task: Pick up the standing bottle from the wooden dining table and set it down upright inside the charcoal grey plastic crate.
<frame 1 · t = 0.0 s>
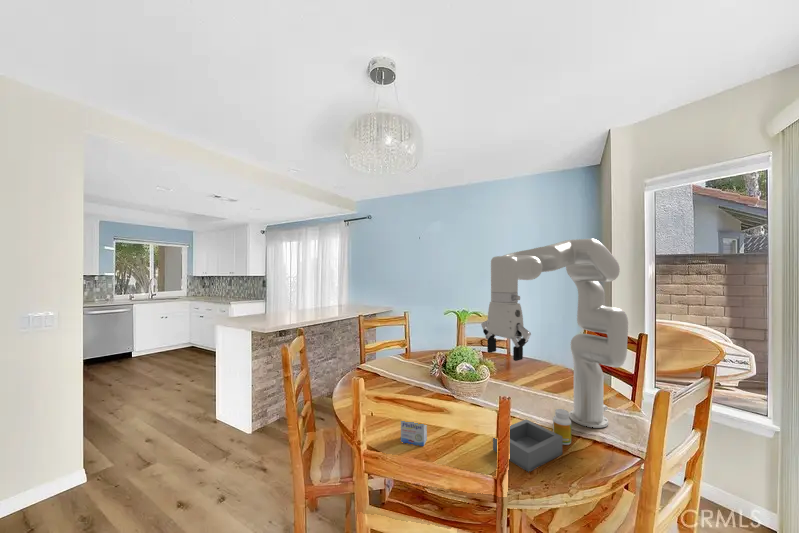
hand: (504, 355, 98), 31 cm above the table, tool pointing down, fingers open, 9 cm apart
medicine box: (414, 442, 109), on the table
crate: (527, 452, 102), on the table
supplement bottle: (562, 441, 109), on the table
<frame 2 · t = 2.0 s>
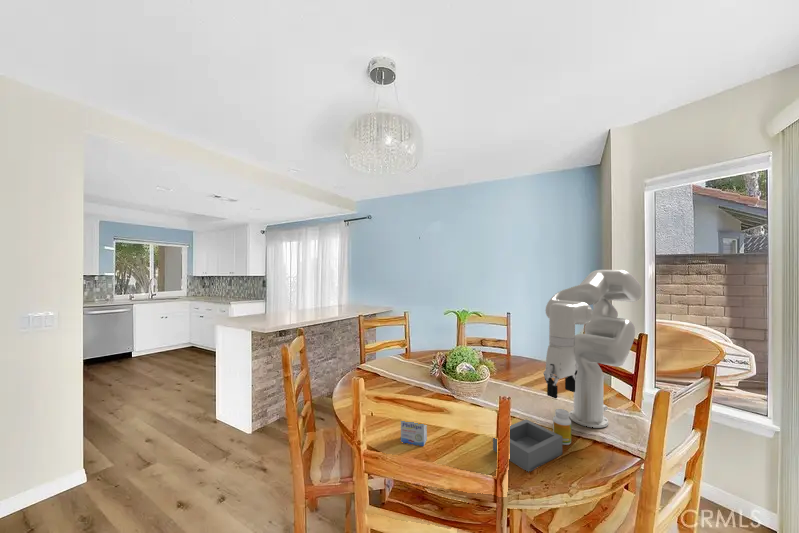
hand: (561, 393, 108), 16 cm above the table, tool pointing down, fingers open, 9 cm apart
nothing on the table moved.
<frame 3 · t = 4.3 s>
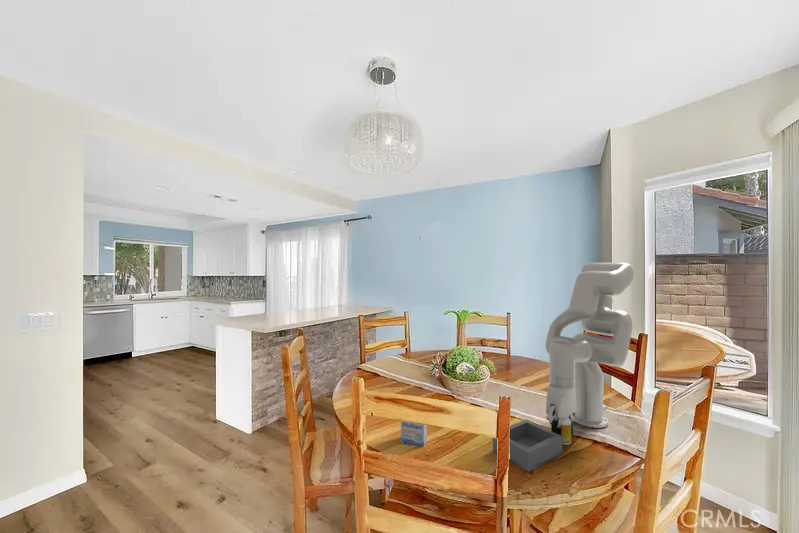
hand: (562, 434, 109), 2 cm above the table, tool pointing down, fingers closed on supplement bottle, 5 cm apart
supplement bottle: (562, 441, 109), on the table, touching gripper
everything else where it was.
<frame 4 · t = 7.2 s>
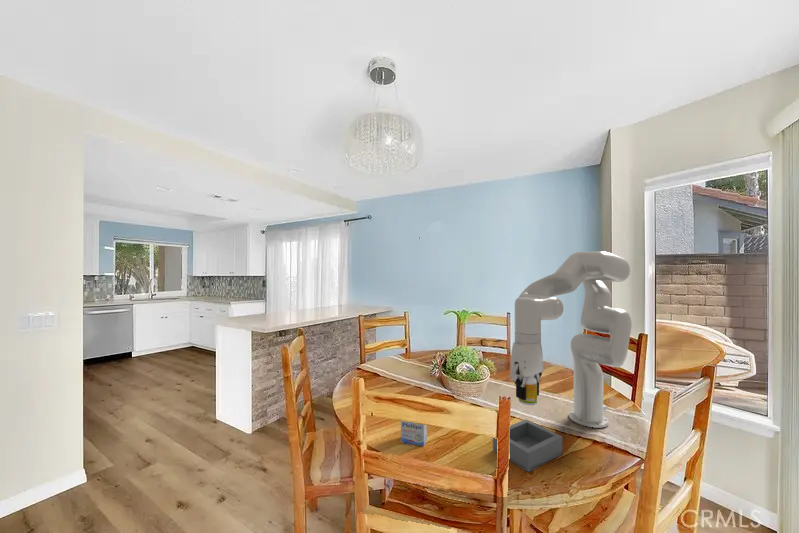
hand: (527, 395, 102), 18 cm above the table, tool pointing down, fingers closed on supplement bottle, 5 cm apart
supplement bottle: (527, 402, 102), point 15 cm above the table, touching gripper
everything else where it was.
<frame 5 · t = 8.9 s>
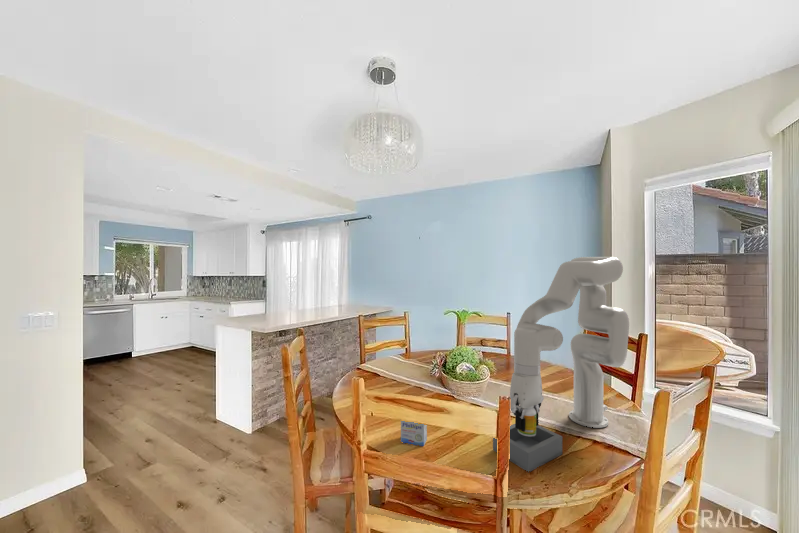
hand: (526, 426, 102), 8 cm above the table, tool pointing down, fingers closed on supplement bottle, 5 cm apart
supplement bottle: (526, 433, 102), point 6 cm above the table, touching gripper
everything else where it was.
when the fingers open (4 cm above the table, at t = 10.5 s): supplement bottle drops 1 cm, resting on crate.
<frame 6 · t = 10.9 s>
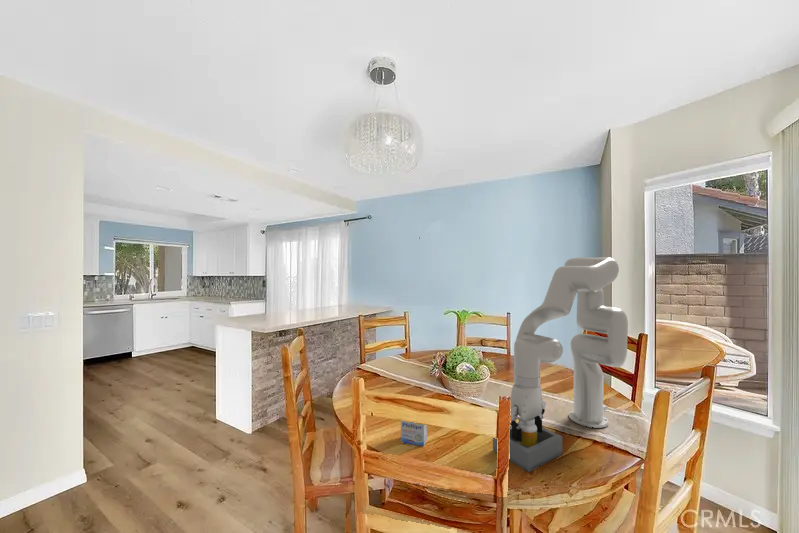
hand: (527, 435, 102), 5 cm above the table, tool pointing down, fingers open, 9 cm apart
supplement bottle: (527, 449, 103), point 1 cm above the table, touching crate
everything else where it was.
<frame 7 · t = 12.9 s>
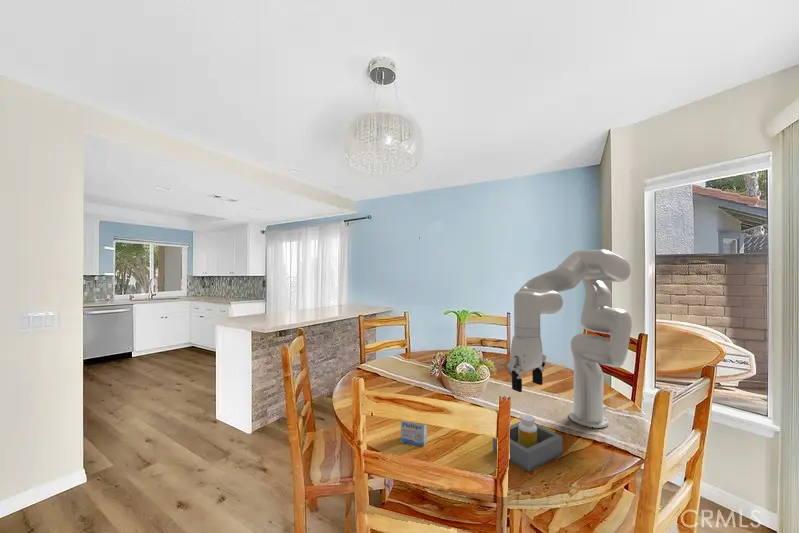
hand: (527, 387, 102), 20 cm above the table, tool pointing down, fingers open, 9 cm apart
nothing on the table moved.
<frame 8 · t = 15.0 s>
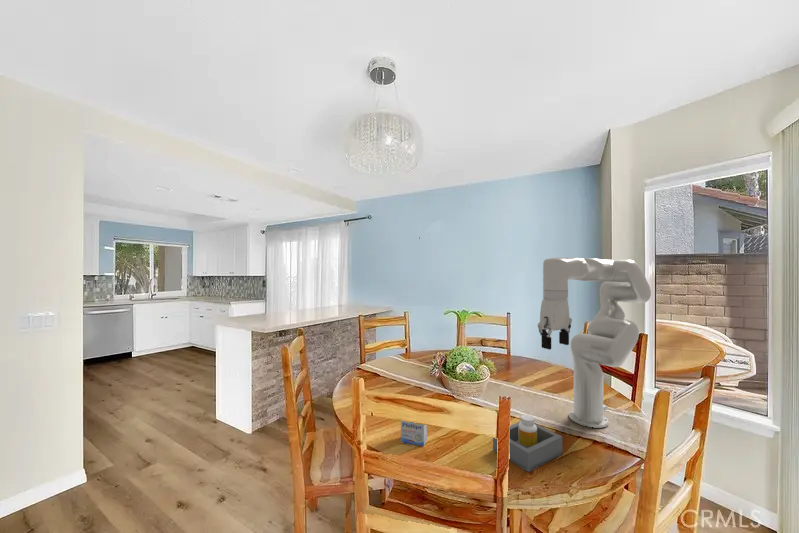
hand: (555, 346, 111), 30 cm above the table, tool pointing down, fingers open, 9 cm apart
nothing on the table moved.
at the end: supplement bottle inside the target area on the crate (0.3 cm from its centre), point 0.8 cm above the crate's base; supplement bottle tilted 0°; the gripper is holding nothing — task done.
